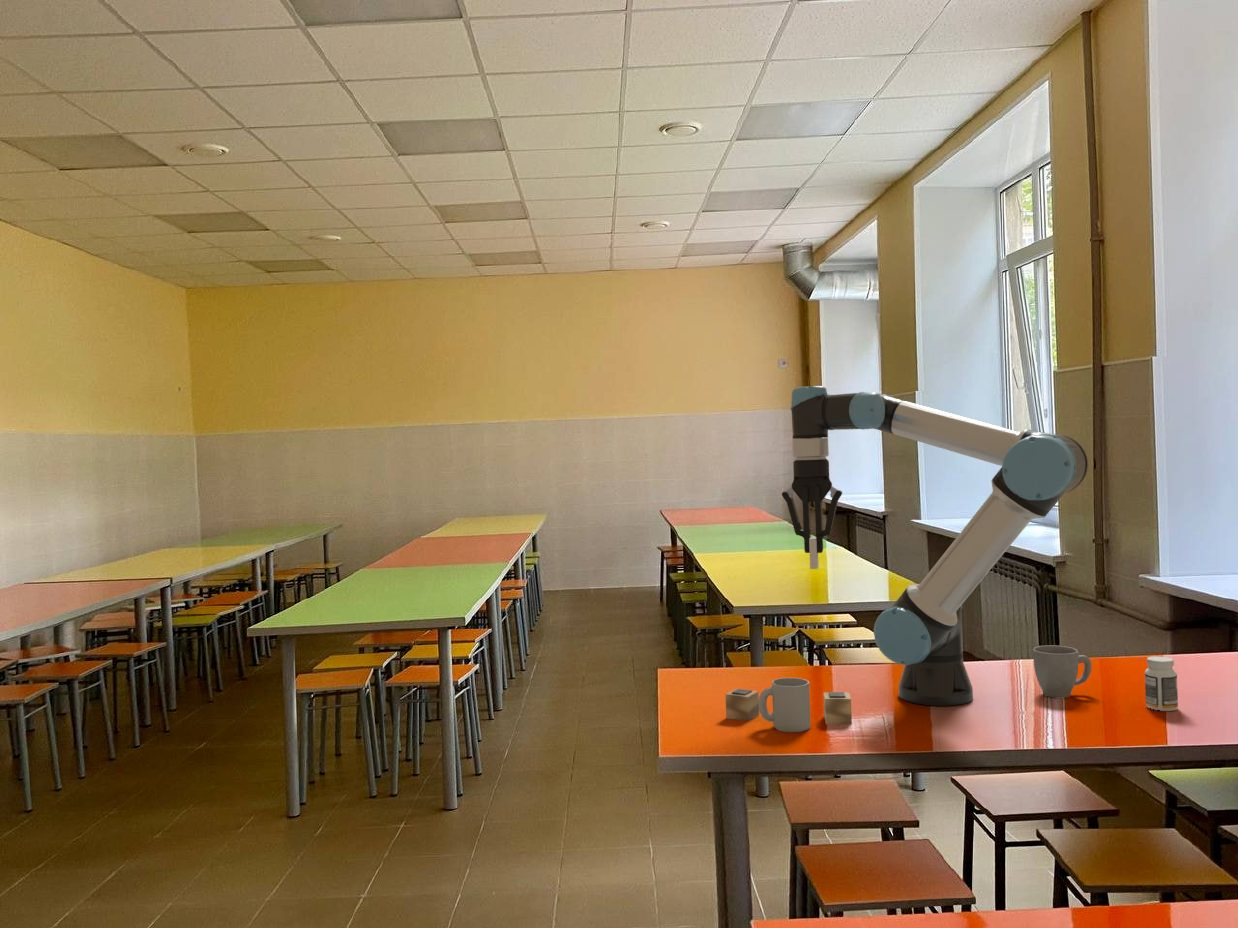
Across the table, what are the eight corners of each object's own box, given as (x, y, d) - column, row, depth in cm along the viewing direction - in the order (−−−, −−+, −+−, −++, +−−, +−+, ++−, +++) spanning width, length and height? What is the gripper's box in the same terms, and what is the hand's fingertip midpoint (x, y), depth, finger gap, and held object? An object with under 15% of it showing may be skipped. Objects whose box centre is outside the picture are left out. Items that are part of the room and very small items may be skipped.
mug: (1046, 701, 205) (1045, 655, 205) (1026, 690, 214) (1025, 646, 214) (1102, 698, 206) (1101, 652, 206) (1080, 687, 215) (1079, 643, 214)
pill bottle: (1176, 705, 198) (1175, 656, 198) (1179, 713, 193) (1178, 662, 193) (1144, 703, 201) (1143, 655, 201) (1146, 710, 196) (1145, 661, 195)
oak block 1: (759, 715, 203) (758, 689, 203) (748, 721, 199) (747, 695, 199) (737, 712, 206) (736, 687, 205) (726, 718, 201) (725, 692, 201)
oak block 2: (849, 717, 199) (848, 691, 199) (851, 724, 194) (850, 697, 194) (824, 717, 200) (823, 691, 200) (825, 724, 195) (825, 697, 195)
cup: (813, 732, 190) (811, 686, 189) (760, 733, 190) (759, 687, 190) (808, 721, 197) (806, 677, 196) (757, 722, 197) (756, 678, 197)
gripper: (843, 457, 214) (846, 566, 214) (783, 459, 218) (786, 565, 218) (840, 458, 206) (843, 570, 207) (777, 460, 210) (781, 570, 211)
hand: (814, 568), depth 212 cm, fingers closed
